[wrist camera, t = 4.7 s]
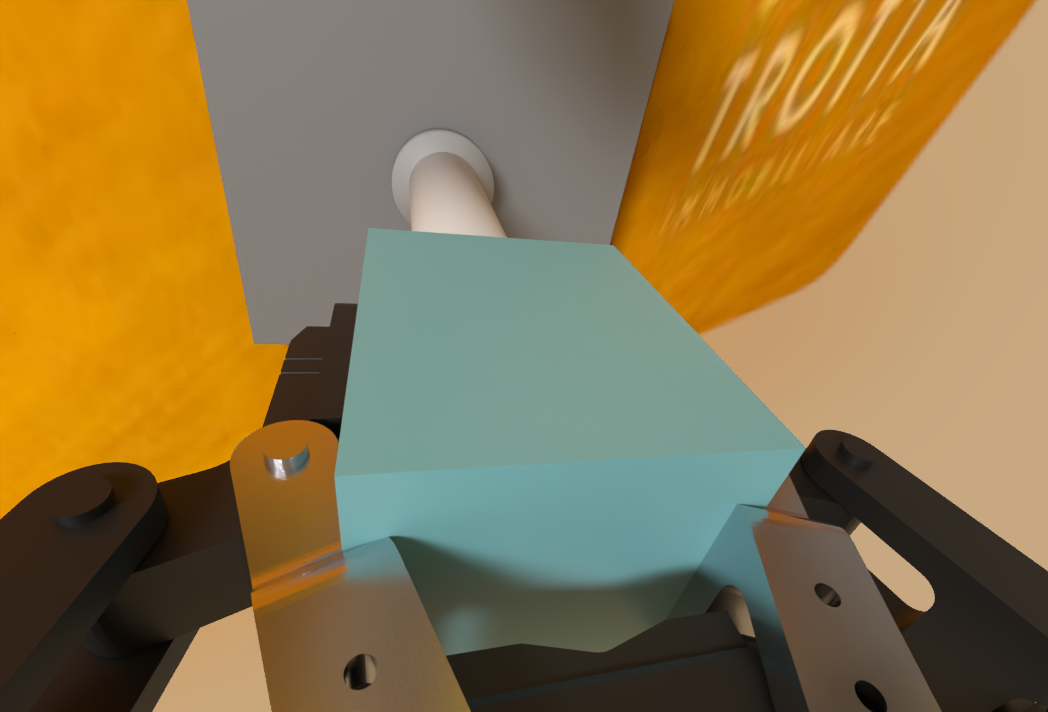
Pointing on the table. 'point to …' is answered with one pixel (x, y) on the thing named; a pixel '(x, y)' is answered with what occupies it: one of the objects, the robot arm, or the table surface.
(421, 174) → the post stand
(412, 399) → the teal cube
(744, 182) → the table surface
